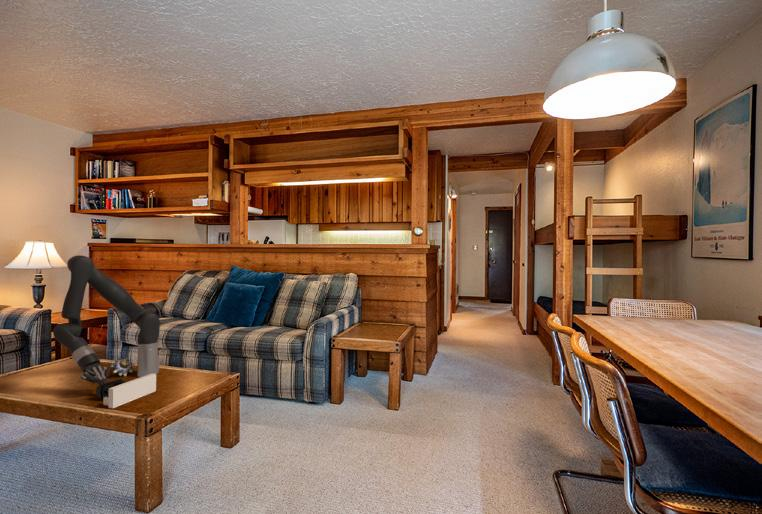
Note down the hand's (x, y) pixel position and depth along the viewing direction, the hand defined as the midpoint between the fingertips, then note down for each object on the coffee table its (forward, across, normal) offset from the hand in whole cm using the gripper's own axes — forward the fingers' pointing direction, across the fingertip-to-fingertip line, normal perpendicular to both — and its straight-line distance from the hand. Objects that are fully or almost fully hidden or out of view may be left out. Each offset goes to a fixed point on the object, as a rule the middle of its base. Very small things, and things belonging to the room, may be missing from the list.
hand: (106, 387), depth 175 cm
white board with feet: (+12, 0, -6) cm, 13 cm away
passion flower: (-12, +26, +18) cm, 34 cm away
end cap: (+6, 0, 0) cm, 6 cm away
